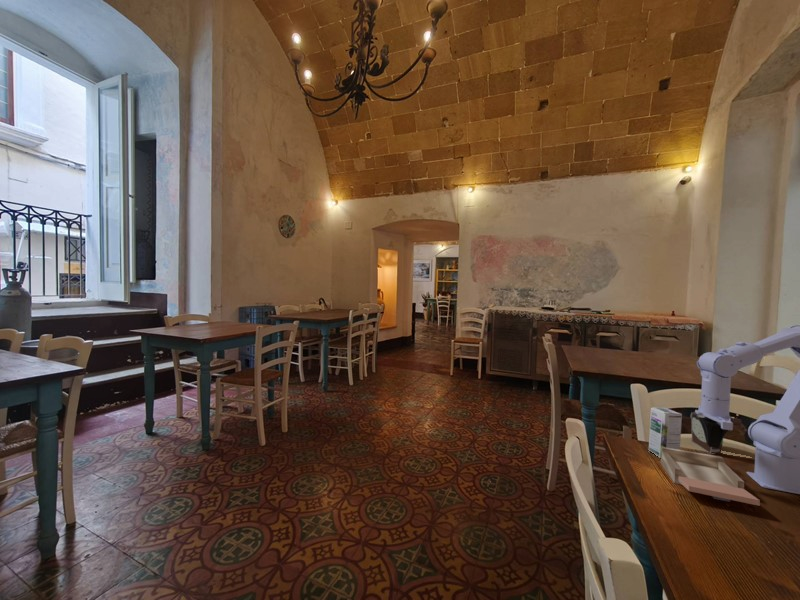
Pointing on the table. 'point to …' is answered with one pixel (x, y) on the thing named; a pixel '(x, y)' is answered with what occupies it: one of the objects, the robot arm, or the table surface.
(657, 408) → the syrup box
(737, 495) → the panel
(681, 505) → the table surface
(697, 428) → the food container
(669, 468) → the tray
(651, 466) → the table surface
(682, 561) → the table surface
